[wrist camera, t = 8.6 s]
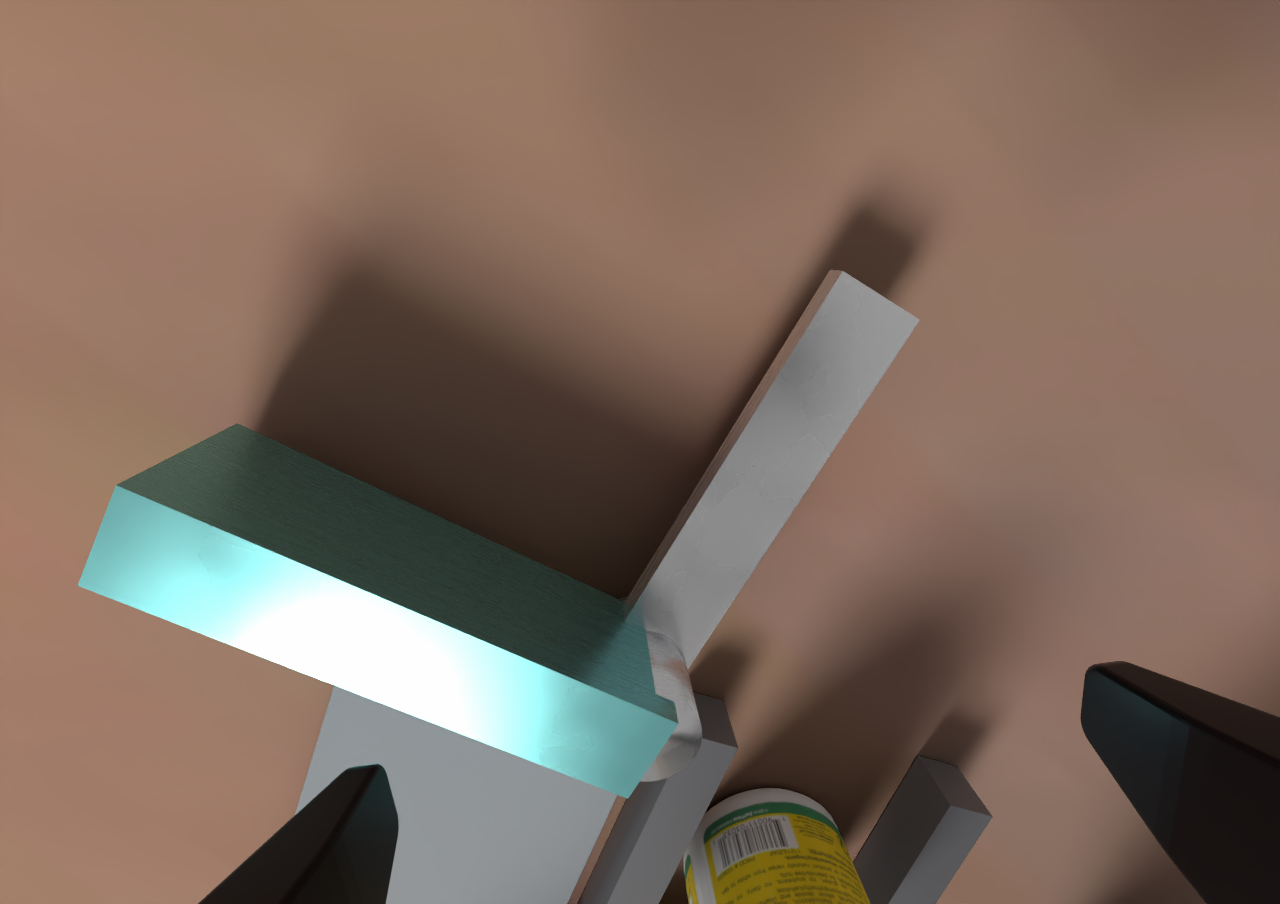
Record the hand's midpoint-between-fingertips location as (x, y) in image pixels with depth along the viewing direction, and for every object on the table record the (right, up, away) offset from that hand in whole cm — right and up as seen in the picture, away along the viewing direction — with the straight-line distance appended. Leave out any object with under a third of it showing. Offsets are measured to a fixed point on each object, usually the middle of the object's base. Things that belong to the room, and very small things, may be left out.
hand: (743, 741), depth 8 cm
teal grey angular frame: (-3, +5, +8) cm, 10 cm away
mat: (-7, -8, +12) cm, 17 cm away
